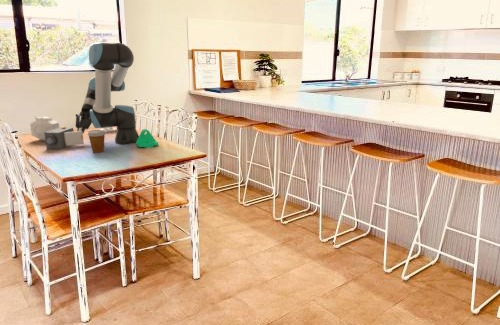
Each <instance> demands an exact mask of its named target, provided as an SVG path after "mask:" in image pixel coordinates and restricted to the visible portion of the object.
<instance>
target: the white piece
mask: <svg viewBox="0 0 500 325" xmlns="http://www.w3.org/2000/svg"><path fill="white" fill-rule="evenodd" d="M99 130H104V132H105V133H107V132H115V131H117V128H114V127H106V128H99Z"/></svg>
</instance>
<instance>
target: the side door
mask: <svg viewBox="0 0 500 325" xmlns="http://www.w3.org/2000/svg"><path fill="white" fill-rule="evenodd" d="M64 139H65V146H67V147H69V145H70V146H77V145H84V144H85V142H84V133H83V132H82V131H77V130H76V131H74V132H66V133H64Z"/></svg>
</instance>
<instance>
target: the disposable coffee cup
mask: <svg viewBox="0 0 500 325" xmlns="http://www.w3.org/2000/svg"><path fill="white" fill-rule="evenodd" d="M87 135H88V138H89V143H90V145H91V151H92V152H93V153H94V154H97V153H100V154H101V153H103V152H105V138H106V137H105V135H106V132H104V130H100V129H92V130H89V131H88V132H87Z"/></svg>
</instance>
